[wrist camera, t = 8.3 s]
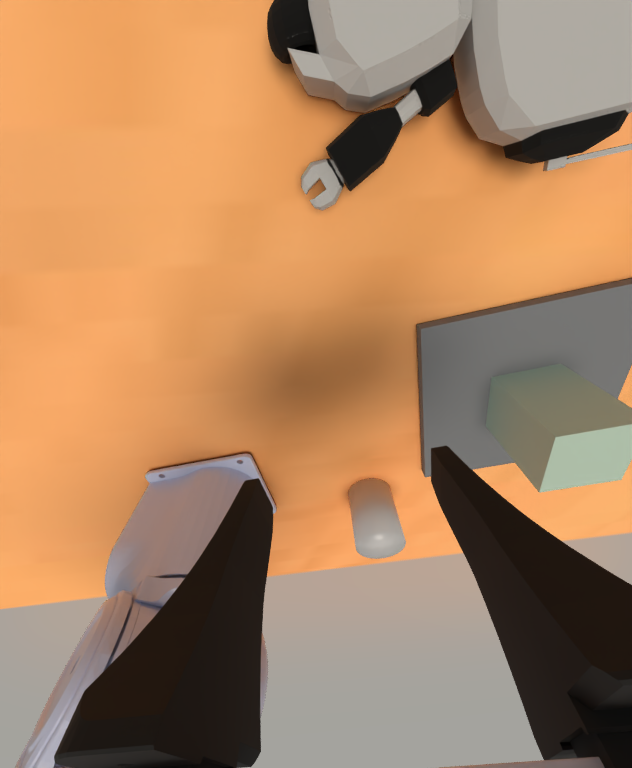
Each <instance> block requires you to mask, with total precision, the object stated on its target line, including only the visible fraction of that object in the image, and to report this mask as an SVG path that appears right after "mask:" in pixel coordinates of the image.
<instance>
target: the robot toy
mask: <svg viewBox="0 0 632 768" xmlns="http://www.w3.org/2000/svg"><path fill="white" fill-rule="evenodd" d="M267 30H268V39H269V43H270V46H271V49H272V51H273V53H274V55H275V56H276V57H277V58H278V59H279V60H280V61H281V62H282V63H286V64H292V65H293V68H294V71H295V74H296V75H297V77H298V79H299V80H300V82H301V84H302V85H303V87H304V89H305V91H306V92H307V94H308V95H311V96H316V97H321V98H326V99H331V100H334V101H336V102H337V103H338V104H339V105H340V106H342V107H343V108H344V109H345V110H350V111H356V112H363V113H366V112H368V111H371V110H373V109H375V108H378V107H380V106H382V105H384V104H387V103H389V102H391V101H394V100H396V99H398V98H399V97H401V96H403V95H405V94H407V93H408V94H407V95H406V96H405V97H404V98H403V99H402V100H401V101H399V102H398V103H397V104H396V105H395V106H394V107H392V108H387V109H381V110H378V111H374V112H371V113H367V114H364V115H360V116H359V117H358V118H357V119H356V120H355V121H354V122H353V123H352V124H351V125H349V126H348V127H347V128H346V129H345V130H344V131H343V132H342V133H341V134H340V135H339V136H338V137H337V138H336V139H335V140H334V141H333V142H332V143H330V144H329V145H328V146H327V147H326V150H327V152H328V155H329V156H330V158H331V159H324V160H320V161H315V162H311V163H310V164H309V166H308V167H307V169H306V170H305V172H304V173H303V175H302V176H301V187H302V189H303V191H304V192H305V194H307V193H308V192H309V190H310V189H311V188H312V187H313V186H314V185H315V184H316V183H317V182H318V181H319V180H320V179H321V181H322V183H323V184H324V186H325V188H326V190H325V191H323V192H322V193H321V194H319V195H318V196H317V197H316V198H314V199H312V200H310V202H311V203H312V205H313V206H314V208H316V209H319V210H324V209H326V208H328V207H330V206H332V205H334V204H335V203H336V201H337V199H338V197H339V195H340V193H341V190H342V188H343V186H344V183H345V185H346V187H347V188H348V189H349V190H350V191H351V190H352V189H354V188H355V187H356V186H357V185H358V184H360V183H361V182H362V181H363V180H364V179H365V178H367V177H368V176H369V175H370V174H371V173H372V172H374V171H375V170H376V169H377V168H378V167H380V166H381V165H382V164H383V163H384V161H385V159H386V158H387V156H388V154H389V152H390V150H391V148H392V146H393V145H394V143H395V141H396V139H397V137H398V134H399V132H400V130H401V128H402V127H403V126H404V125H405V124H406V123H407V122H408V121H409V120H411V119H412V118H413V117H414V116H415V115H416V114H417V113H418V114H419V115H421V116H427V117H429V116H430V115H431V114H432V113H433V112H435V111H436V110H437V109H438V108H439V107H440V106H442V105H443V104H444V103H445V102H446V101H447V100H449V99H450V98H451V97H452V96H453V95H454V93H455V90H456V88H457V85H458V90H459V96H460V101H461V104H462V108H463V111H464V114H465V117H466V119H467V120H468V122H469V124H470V125H471V127H472V129H473V130H474V132H475V133H476V135H477V137H478V138H479V139H481V140H484V141H488V142H491V143H494V144H498V145H501V146H503V148H504V152H505V156H506V158H509V159H513V160H517V161H521V162H525V163H530V164H532V163H538V162H543V161H545V162H544V168H543V171H548V170H553V169H558V168H562V167H565V165H566V164H568V163H573V162H578V161H582V160H587V159H591V158H596V157H600V156H605V155H610V154H614V153H619V152H623V151H628V150H632V144H627V145H623V146H619V147H614V148H610V149H605V150H601V151H596V152H592V153H587V154H583V155H579V156H574V157H570V158H567V156H569V155H573V154H578V153H582V152H584V151H586V150H587V149H589V148H591V147H592V146H594V145H596V144H597V143H599V142H601V141H602V140H604V139H606V138H607V137H609V136H611V135H612V134H614V133H615V132H617V131H619V129H620V128H621V126H622V124H623V122H624V121H625V119H626V117H627V116H628V114H629V113H631V112H632V0H274V2H273V3H272V5H271V7H270V9H269V12H268V20H267ZM452 55H453V56H454V68H455V74H456V79H455V74H454V71H453V68H452V65H451V62H450V60H449V58H450V57H451V56H452ZM456 80H457V83H456Z"/></svg>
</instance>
